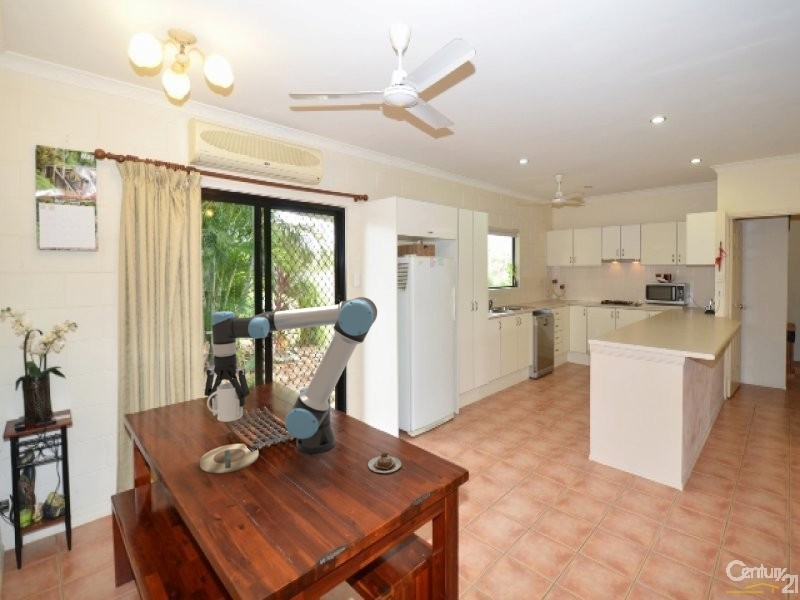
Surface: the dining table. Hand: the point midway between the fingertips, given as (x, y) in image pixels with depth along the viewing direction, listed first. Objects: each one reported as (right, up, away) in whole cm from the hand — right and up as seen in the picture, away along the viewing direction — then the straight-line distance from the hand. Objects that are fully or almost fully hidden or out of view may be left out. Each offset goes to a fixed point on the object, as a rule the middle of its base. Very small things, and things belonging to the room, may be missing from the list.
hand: (228, 414), depth 144 cm
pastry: (+58, -18, -3) cm, 61 cm away
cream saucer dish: (0, -17, +1) cm, 17 cm away
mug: (-1, -2, 0) cm, 2 cm away
